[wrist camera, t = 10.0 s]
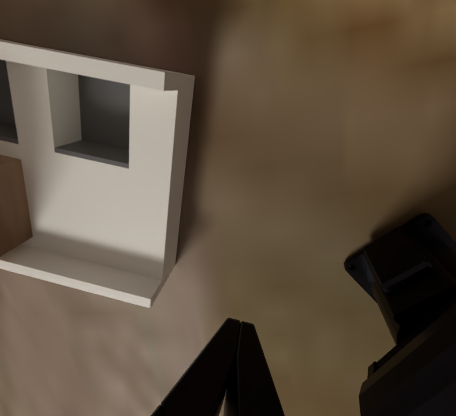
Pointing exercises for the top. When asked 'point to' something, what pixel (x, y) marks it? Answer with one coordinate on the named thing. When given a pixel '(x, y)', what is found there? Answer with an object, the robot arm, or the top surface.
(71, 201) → the box
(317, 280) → the top surface
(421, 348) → the robot arm
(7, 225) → the walnut block
